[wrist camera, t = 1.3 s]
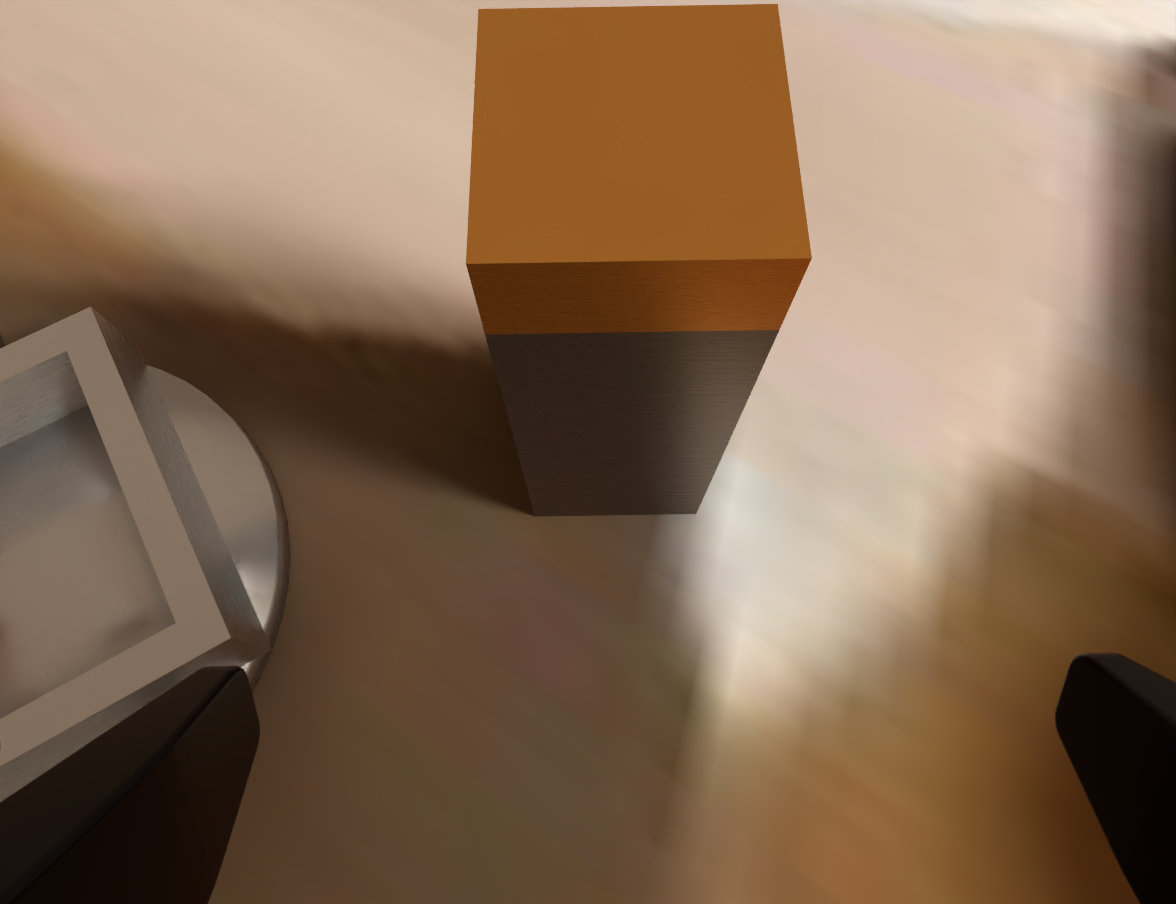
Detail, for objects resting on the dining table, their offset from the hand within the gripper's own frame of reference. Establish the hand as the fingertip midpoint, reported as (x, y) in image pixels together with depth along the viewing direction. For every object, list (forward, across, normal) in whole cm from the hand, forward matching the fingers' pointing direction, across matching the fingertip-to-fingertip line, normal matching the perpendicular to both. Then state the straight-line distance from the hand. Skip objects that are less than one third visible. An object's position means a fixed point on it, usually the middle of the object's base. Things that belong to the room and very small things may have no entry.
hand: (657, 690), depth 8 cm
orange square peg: (+15, 0, +4) cm, 16 cm away
